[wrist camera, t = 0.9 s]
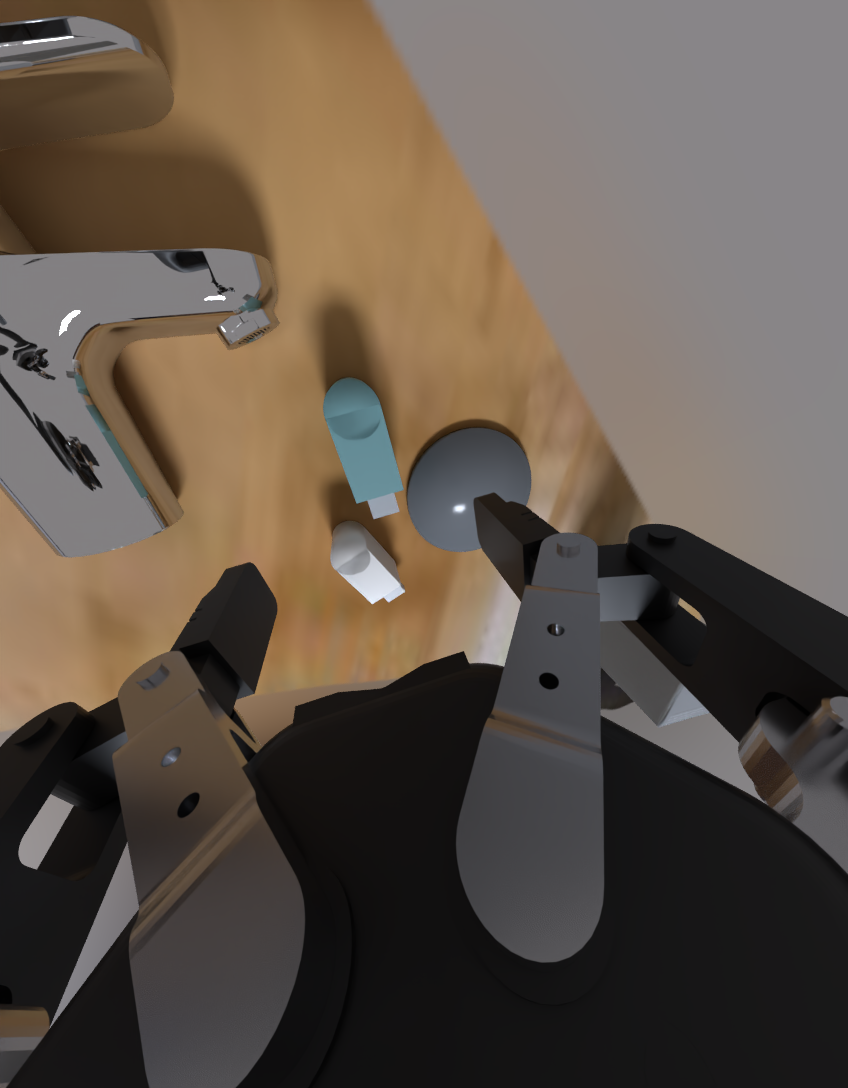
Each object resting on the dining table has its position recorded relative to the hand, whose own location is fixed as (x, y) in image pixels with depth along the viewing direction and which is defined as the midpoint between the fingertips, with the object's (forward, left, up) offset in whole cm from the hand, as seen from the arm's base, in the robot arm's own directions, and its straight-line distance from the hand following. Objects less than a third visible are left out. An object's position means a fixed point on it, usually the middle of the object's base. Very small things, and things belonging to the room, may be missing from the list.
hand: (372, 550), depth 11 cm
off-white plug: (+10, -2, -16) cm, 19 cm away
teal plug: (0, +1, -16) cm, 17 cm away
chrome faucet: (-9, -10, -17) cm, 22 cm away
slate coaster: (+7, +9, -16) cm, 20 cm away
